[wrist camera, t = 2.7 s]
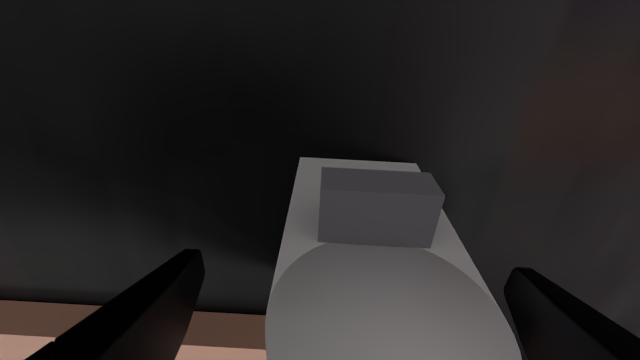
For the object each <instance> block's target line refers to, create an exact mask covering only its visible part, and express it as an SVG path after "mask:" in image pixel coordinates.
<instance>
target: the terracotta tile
mask: <svg viewBox="0 0 640 360" xmlns="http://www.w3.org/2000/svg"><path fill="white" fill-rule="evenodd" d="M100 307H101V306H95V305H77V304H60V303H43V302H26V301H8V300H0V360H24V359H26V358H27V357H29V356H30V355H32V354H33V353H35V352H36V351H38V350H39V349H40V348H42V347H43V346H45V345H46V344H48V343H49V342H51V341H54V340H55V338H57V337H58V336H59V335H61V334H62V333H64V332H65V331H67V330H68V329H70V328H71V327H72V326H74V325H75V324H77V323H78V322H80V321H81V320H83V319H84V318H86V317H87V316H88V315H90V314H91V313H93V312H94V311H96V310H97V309H99V308H100ZM265 319H266V315H250V314H233V313H215V312H198V311H194V312H193V315H192V318H191V321H190V324H189V327H188V330H187V332H186V335H185V337H184V340H183V342H182V344H181V347H180V349H179V351H178V354H177V356H176V358H175V360H267V356H266V342H265Z"/></svg>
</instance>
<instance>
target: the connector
mask: <svg viewBox="0 0 640 360" xmlns="http://www.w3.org/2000/svg"><path fill="white" fill-rule="evenodd" d="M444 199H445V195H444V193H443V192H442V190H441V189H440V187H439V185H438V184H437V182H436V181H435V179H434V178H433V176H432V174H431V173H426V172H421V171H420V169H419V168H418V166H417V164H416V163H400V162H381V161H363V160H344V159H325V158H307V157H300V160H299V165H298V169H297V174H296V178H295V183H294V187H293V192H292V196H291V201H290V206H289V210H288V215H287V219H286V224H285V228H284V233H283V237H282V242H281V247H280V251H279V256H278V260H277V265H276V269H275V274H274V278H273V283H272V288H271V292H270V297H269V301H268V306H267V312H266V319H265V342H266V356H267V360H522V358H521V353H520V350H519V347H518V344H517V342H516V339H515V336H514V334H513V332H512V330H511V328H510V326H509V324H508V322H507V320H506V319H505V317H504V315H503V313H502V312H501V310H500V308H499V307H498V305H497V303H496V301H495V300H494V298H493V296H492V294H491V293H490V291H489V289H488V287H487V286H486V284H485V282H484V280H483V279H482V277H481V275H480V274H479V272H478V270H477V268H476V267H475V265H474V263H473V261H472V260H471V258H470V256H469V254H468V253H467V251H466V249H465V247H464V246H463V244H462V242H461V241H460V239H459V237H458V235H457V234H456V232H455V230H454V228H453V227H452V225H451V223H450V221H449V220H448V218H447V216H446V214H445V213H444V211H443V209H442V206H443V202H444Z"/></svg>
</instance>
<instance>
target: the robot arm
mask: <svg viewBox="0 0 640 360" xmlns="http://www.w3.org/2000/svg"><path fill="white" fill-rule="evenodd" d="M204 276H205V269H204V264H203V258H202V253H201V251H200V250H198V249H184V250H183V251H181V252H180V253H178V254H177V255H175V256H174V257H172V258H171V259H170V260H168V261H167V262H165V263H164V264H162V265H161V266H159V267H158V268H157V269H155V270H154V271H152V272H151V273H149V274H148V275H146V276H145V277H144V278H142V279H141V280H139V281H138V282H136V283H135V284H133V285H132V286H130V287H129V288H128V289H126V290H125V291H123V292H122V293H120V294H119V295H117V296H116V297H115V298H113V299H112V300H110V301H109V302H107V303H106V304H104V305H103V306H101V307H100V308H99V309H97V310H96V311H94V312H93V313H91V314H90V315H88V316H87V317H86V318H84V319H83V320H81V321H80V322H78V323H77V324H75V325H74V326H72V327H71V328H70V329H68V330H67V331H65V332H64V333H62V334H61V335H59V336H58V337H57V338H55V340H54V341H51V342H49V343H48V344H46V345H45V346H43V347H42V348H40V349H39V350H38V351H36V352H35V353H33V354H32V355H30V356H29V357H27V358H26V359H24V360H175V358H176V356H177V354H178V351H179V349H180V347H181V344H182V342H183V340H184V337H185V335H186V332H187V330H188V327H189V324H190V321H191V318H192V315H193V312H194V309H195V305H196V302H197V299H198V296H199V293H200V289H201V286H202V283H203V280H204ZM504 295H505V298H506V301H507V304H508V307H509V310H510V312H511V315H512V318H513V321H514V324H515V326H516V329H517V332H518V335H519V337H520V340H521V343H522V345H523V348H524V350H525V352H526V355H527V357H528V359H529V360H640V338H638V337H637V336H635V335H634V334H632V333H631V332H629V331H628V330H626V329H624V328H623V327H621V326H620V325H618V324H617V323H615V322H614V321H612V320H610V319H609V318H607V317H606V316H604V315H603V314H601V313H600V312H598V311H597V310H595V309H593V308H592V307H590V306H589V305H587V304H586V303H584V302H583V301H581V300H580V299H578V298H576V297H575V296H573V295H572V294H570V293H569V292H567V291H566V290H564V289H563V288H561V287H559V286H558V285H556V284H555V283H553V282H552V281H550V280H549V279H547V278H546V277H544V276H542V275H541V274H539V273H538V272H536V271H535V270H533V269H531V268H524V267H516V268H514V269H513V270H512V272H511V274H510V276H509V278H508V280H507V282H506V284H505V286H504Z"/></svg>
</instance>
